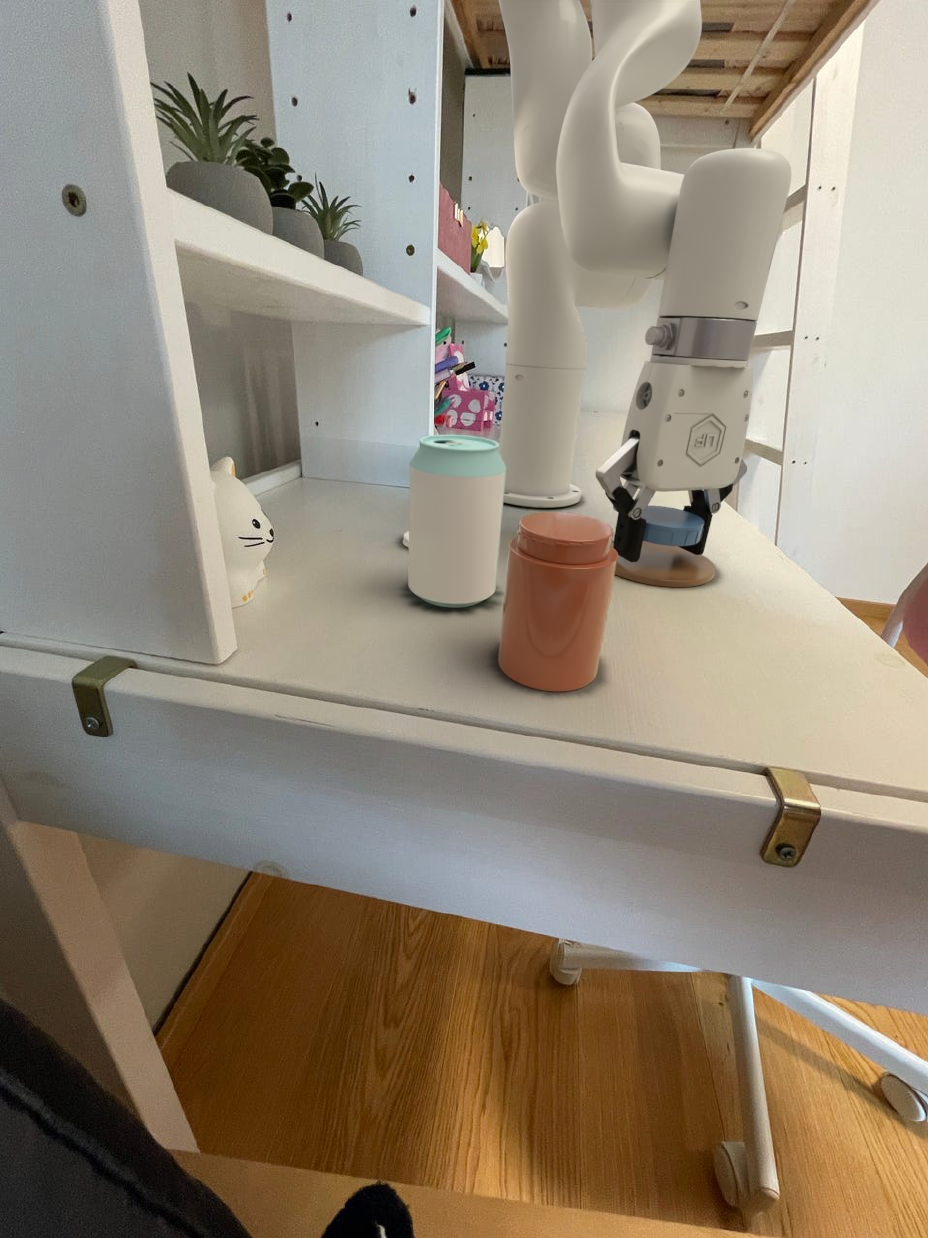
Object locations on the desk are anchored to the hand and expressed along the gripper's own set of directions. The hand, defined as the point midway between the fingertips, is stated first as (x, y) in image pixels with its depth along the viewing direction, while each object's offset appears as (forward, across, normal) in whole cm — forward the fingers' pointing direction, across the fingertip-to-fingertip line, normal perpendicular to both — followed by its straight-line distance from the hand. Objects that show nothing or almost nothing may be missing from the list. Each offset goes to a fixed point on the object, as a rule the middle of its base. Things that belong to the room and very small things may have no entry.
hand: (658, 552), depth 55 cm
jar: (+1, -19, -13) cm, 23 cm away
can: (+2, -21, -1) cm, 21 cm away
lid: (-3, 0, 0) cm, 3 cm away
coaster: (+1, 0, 0) cm, 1 cm away
